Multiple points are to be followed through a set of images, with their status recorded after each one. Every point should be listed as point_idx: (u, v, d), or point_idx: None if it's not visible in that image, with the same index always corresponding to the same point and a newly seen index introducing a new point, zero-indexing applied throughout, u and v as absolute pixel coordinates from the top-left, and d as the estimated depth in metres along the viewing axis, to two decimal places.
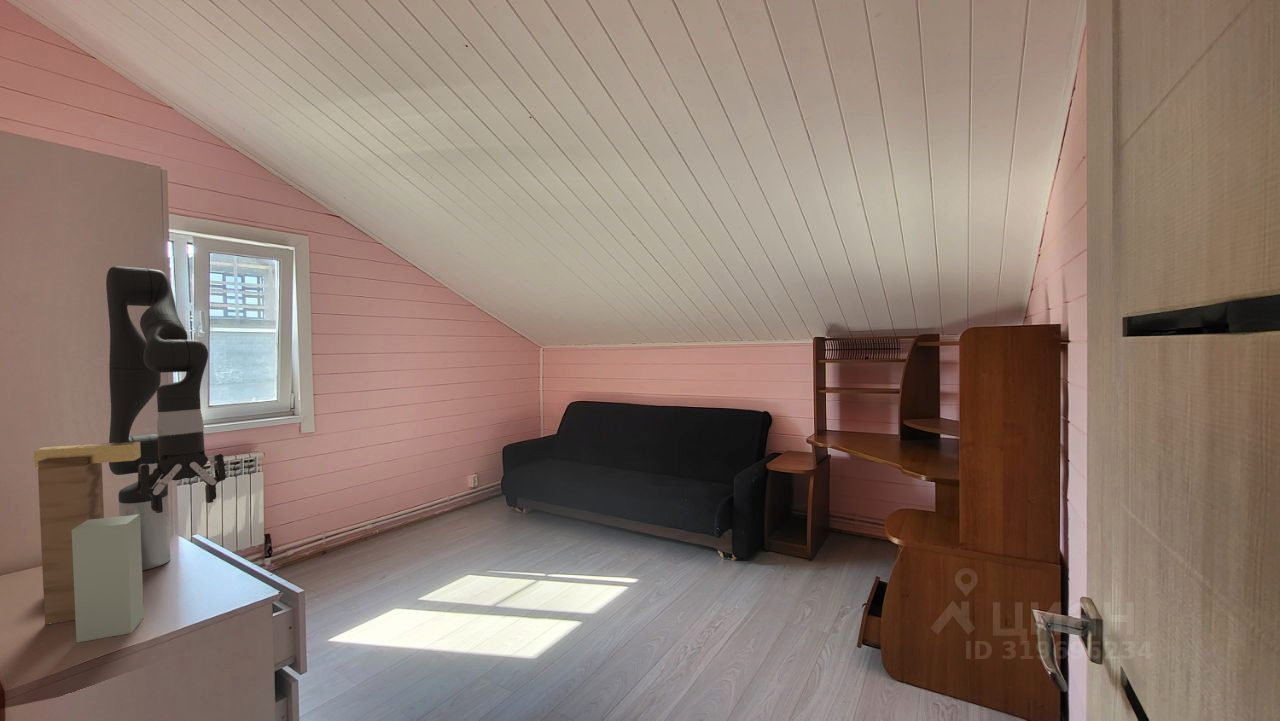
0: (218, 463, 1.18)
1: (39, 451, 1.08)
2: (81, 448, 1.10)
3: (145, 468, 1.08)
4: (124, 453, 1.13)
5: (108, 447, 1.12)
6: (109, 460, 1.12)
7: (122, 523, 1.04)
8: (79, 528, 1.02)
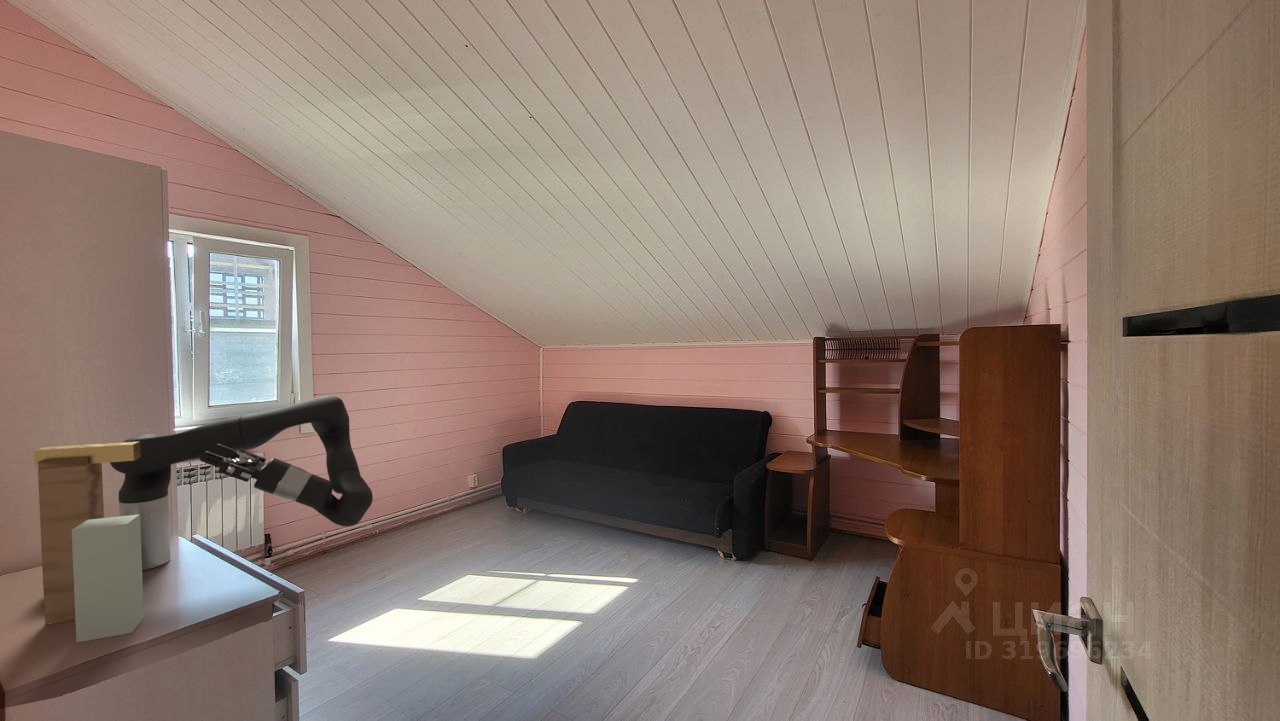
0: None
1: (39, 451, 1.08)
2: (81, 448, 1.10)
3: None
4: (124, 453, 1.13)
5: (108, 447, 1.12)
6: (109, 460, 1.12)
7: (122, 523, 1.04)
8: (79, 528, 1.02)
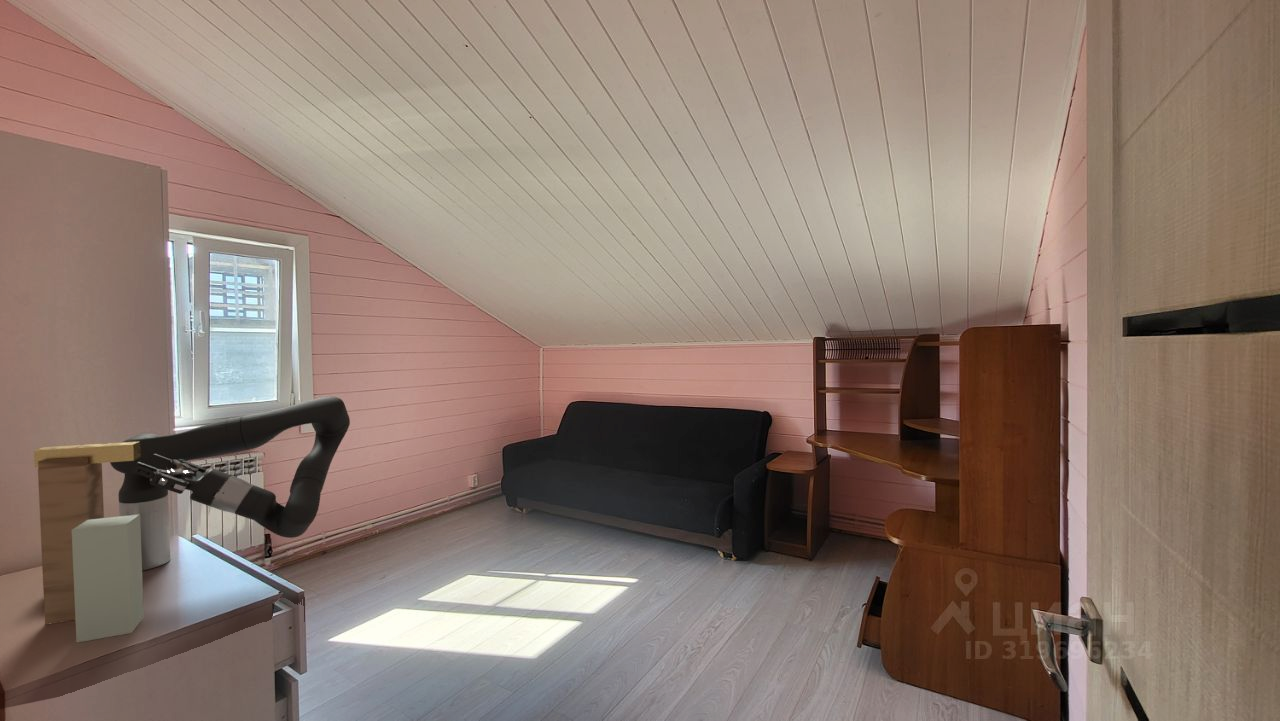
0: None
1: (39, 451, 1.08)
2: (81, 448, 1.10)
3: None
4: (124, 453, 1.13)
5: (108, 447, 1.12)
6: (109, 460, 1.12)
7: (122, 523, 1.04)
8: (79, 528, 1.02)
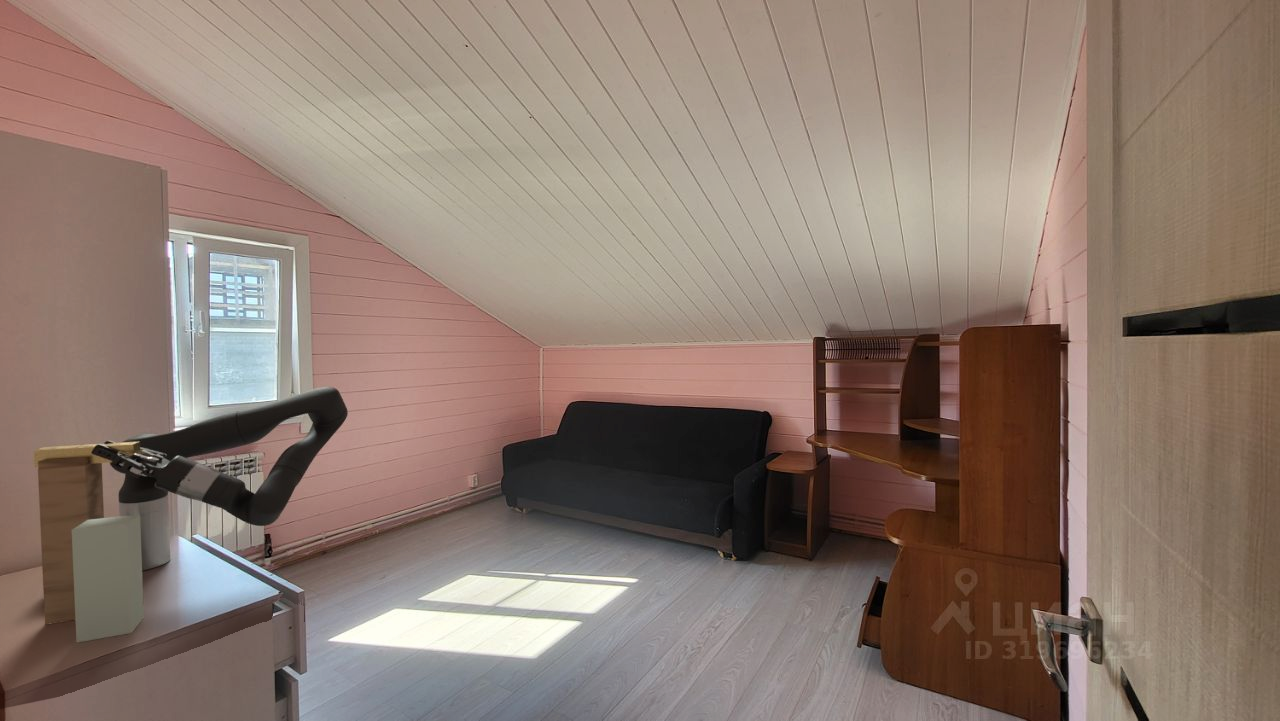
0: None
1: (39, 451, 1.08)
2: (81, 448, 1.10)
3: None
4: None
5: None
6: (109, 460, 1.12)
7: (122, 523, 1.04)
8: (79, 528, 1.02)
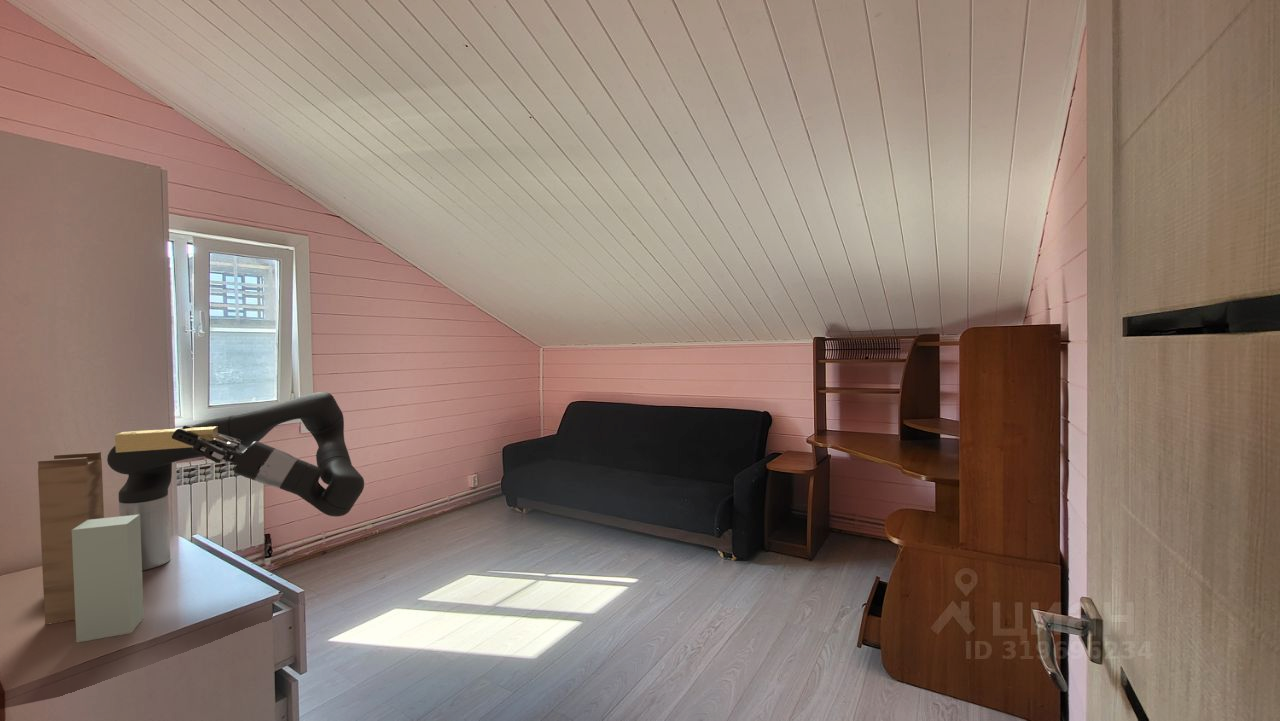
0: None
1: (120, 435, 1.04)
2: (161, 433, 1.07)
3: None
4: None
5: None
6: (189, 445, 1.09)
7: (122, 523, 1.04)
8: (79, 528, 1.02)
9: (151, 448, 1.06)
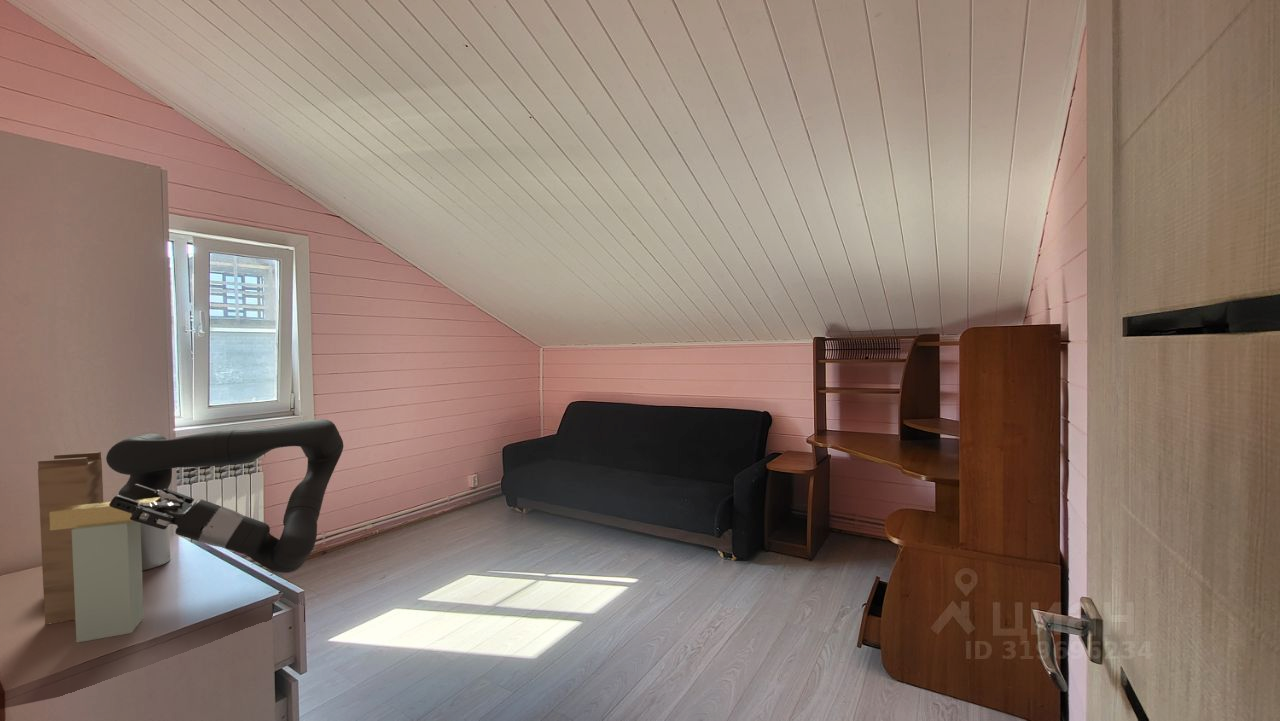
0: None
1: (55, 513, 1.01)
2: (99, 508, 1.03)
3: None
4: None
5: None
6: (129, 519, 1.05)
7: (122, 523, 1.04)
8: (79, 528, 1.02)
9: (88, 524, 1.03)
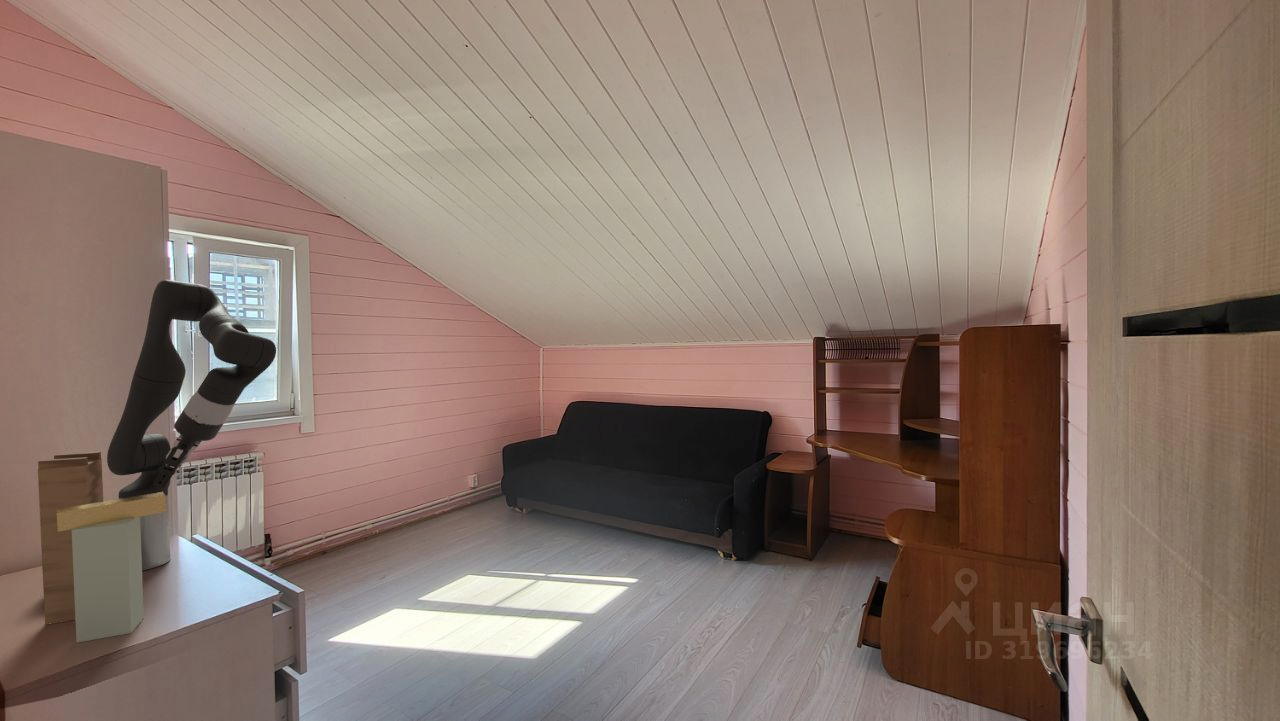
0: None
1: (63, 513, 1.00)
2: (110, 505, 1.05)
3: (185, 454, 1.09)
4: (156, 505, 1.10)
5: (139, 501, 1.08)
6: (140, 514, 1.08)
7: (122, 523, 1.04)
8: (79, 528, 1.02)
9: (98, 522, 1.04)
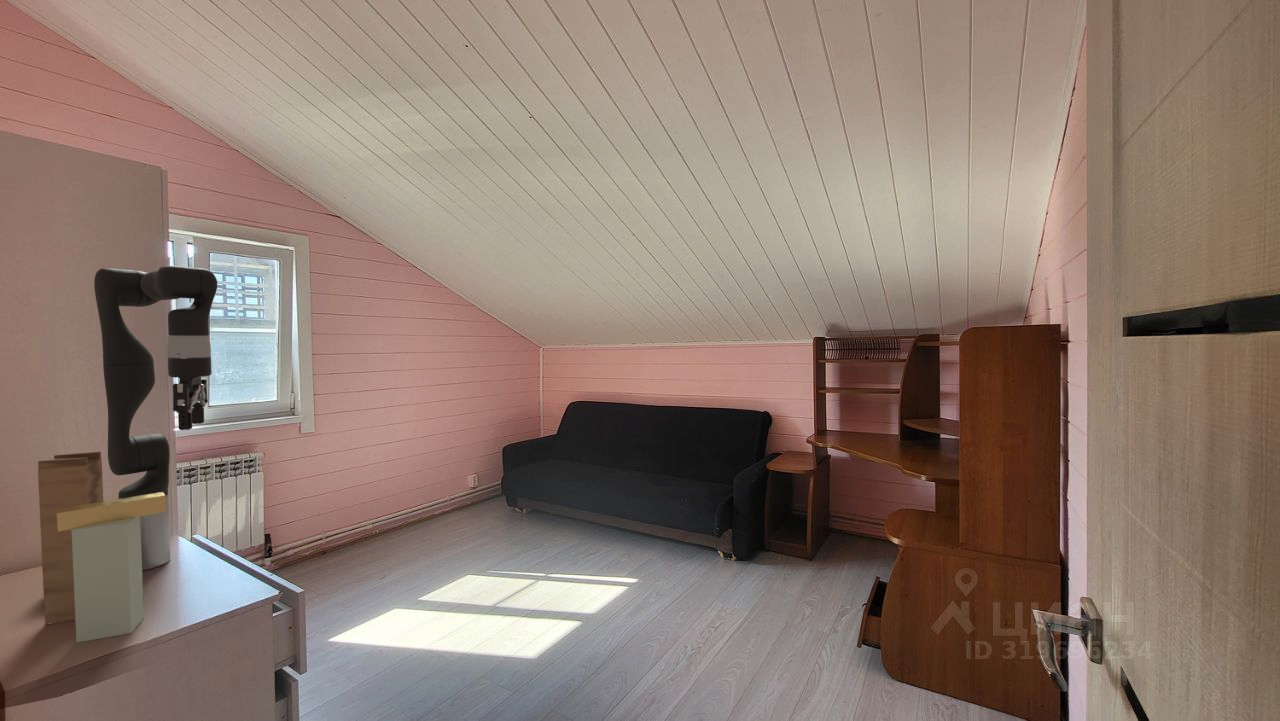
0: (205, 387, 1.27)
1: (63, 513, 1.00)
2: (110, 505, 1.05)
3: (188, 387, 1.16)
4: (156, 505, 1.10)
5: (139, 501, 1.08)
6: (140, 514, 1.08)
7: (122, 523, 1.04)
8: (79, 528, 1.02)
9: (98, 522, 1.04)
